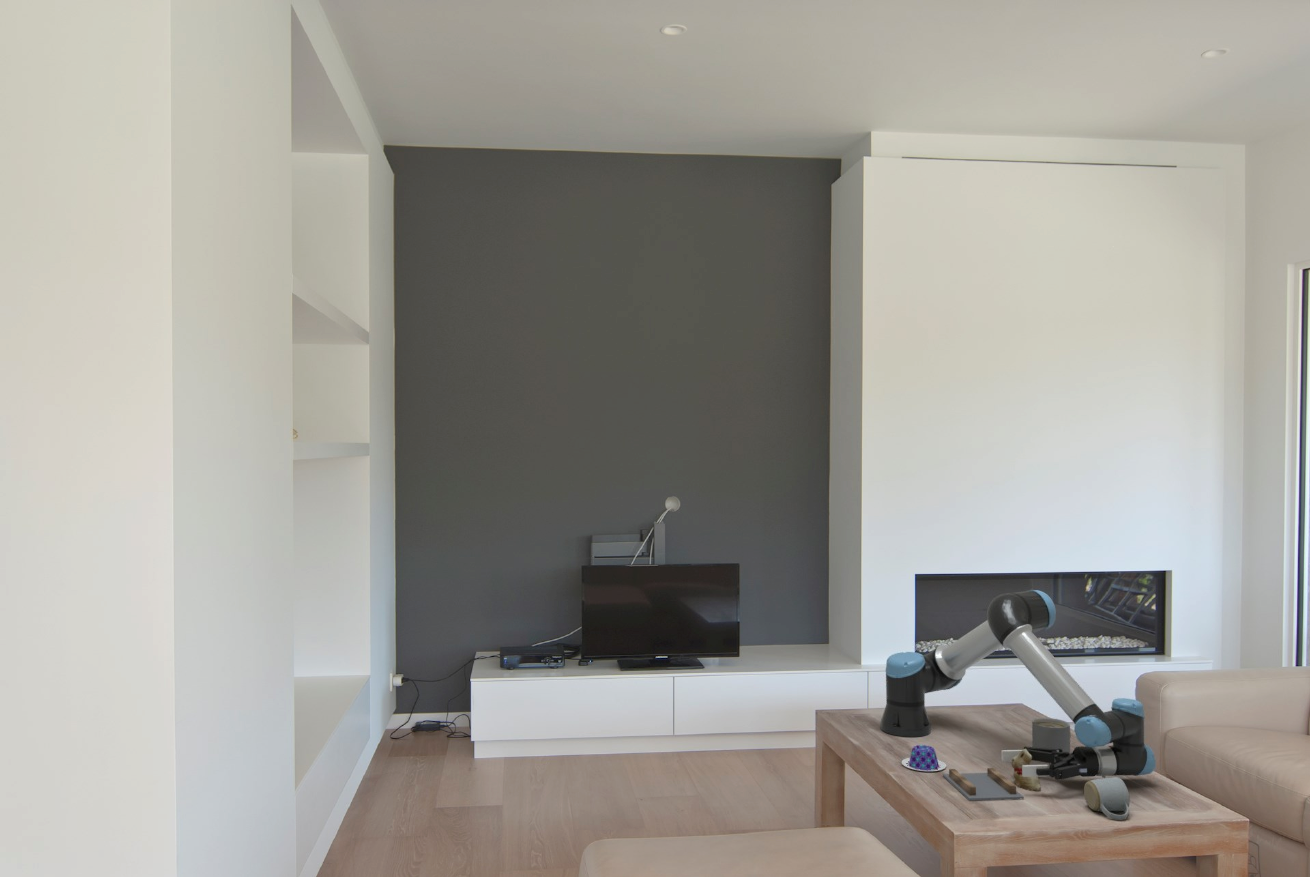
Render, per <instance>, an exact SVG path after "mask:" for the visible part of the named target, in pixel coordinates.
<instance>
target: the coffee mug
mask: <svg viewBox="0 0 1310 877" xmlns="http://www.w3.org/2000/svg"><path fill="white" fill-rule="evenodd" d="M1031 722H1032V723H1031V727H1032V728H1031V732H1032V737H1031V738H1032V740H1031V741H1032V747H1034V748H1046V749H1062V750H1063V752H1068V753H1069V754H1071V736H1072V735H1071V724H1070V722H1068V721H1066V720H1063V719H1058V718H1051V717H1040V718H1039V717H1038V718H1037V717H1036V718H1034V719H1032V721H1031ZM1055 762H1056V759H1055Z"/></svg>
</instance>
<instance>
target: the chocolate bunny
mask: <svg viewBox="0 0 1310 877" xmlns="http://www.w3.org/2000/svg"><path fill="white" fill-rule="evenodd" d="M1021 750H1022V751H1021V752H1020V753H1019V755H1018V756H1015V757H1014V758H1013V759H1012V761H1011V766H1012V768H1013V769H1014V771H1013V777H1014V780H1013V782H1014V783H1013V784H1014V785H1015V786H1016V787H1018V786H1020V787H1019V788H1021V787H1022V788H1021V789H1024V790H1027V789H1029V790H1028V791H1031V790H1033V791H1034V792H1041V791H1042V787H1041V782H1040V780H1039V777H1023V776H1022V765H1031V764H1030V763H1031V761H1033V760H1032V755H1031V754H1029V752H1028V751H1027V749H1024V748H1022V749H1021Z"/></svg>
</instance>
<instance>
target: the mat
mask: <svg viewBox="0 0 1310 877" xmlns="http://www.w3.org/2000/svg"><path fill="white" fill-rule="evenodd" d="M960 774H961V775H962V776H963V777H965V778H966V779H967V780H968V781H969V782H970V783H972V784H973V785H974V786H975V787H976V795H969V794H968V793H967V792H966V791H965V790H964V789H963V788H961V787H960V786H959V785H958V784H957V783H956V782H955V781H954V780H953V779H951V778H950V777H949V773H942V777H943V778H944V779H945V780H946V781H947V782H948V783H950V784H951V786H952V787H954V789H956V790H957V792H959V793H960V794H962V796H964V797H965V798H966V799H967V801H970V802H973V801H975V802H976V801H977V802H978V801H980V802H981V801H992V800H991V799H1014V800H1021V799H1020V798H1024V799H1025V797H1024V796H1023V795H1022V793H1020V792H1018V791H1017V790H1016V794H1010V793H1008V792H1007V791H1006V790H1005V789H1004V788H1002V787H1001V786H1000V785H999V784H997V783H996V782H995V781H994V780H993V779H991V778H990V777H989V776H988V775H987V772H969V773H968V772H967V773H966V772H965V773H960Z"/></svg>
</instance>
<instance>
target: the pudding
mask: <svg viewBox="0 0 1310 877" xmlns="http://www.w3.org/2000/svg"><path fill="white" fill-rule="evenodd" d="M908 761H909V763H908ZM906 763H908V764H906ZM901 765H902V766H904V767H905V768H908V769H911V770H915V771H920V772H925V771H927V770H928V771H927V772H937V771H942V770H945V769H946V767H947V764H946V763H945V762H944V761H941V759H940V760H939V759H938V757H937V753H936V750H935V748H934V747H932V746H930V745H925V744H922V745H921V744H918V745H915V746H913V747H912V749H911V753H910V757H907V758H903V759H902V760H901ZM907 765H908V766H907ZM939 765H941V766H940V767H941V768H939ZM912 767H913V768H912ZM919 769H920V770H919ZM931 769H938V770H931Z"/></svg>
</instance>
